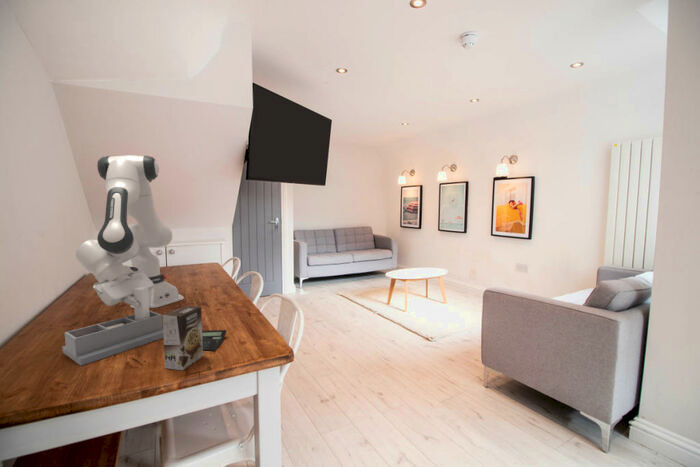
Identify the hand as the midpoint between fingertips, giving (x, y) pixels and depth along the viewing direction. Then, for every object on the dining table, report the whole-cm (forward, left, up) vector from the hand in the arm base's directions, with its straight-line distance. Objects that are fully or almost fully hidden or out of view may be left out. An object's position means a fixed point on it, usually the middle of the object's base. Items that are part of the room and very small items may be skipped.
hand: (143, 304), depth 113 cm
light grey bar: (0, 0, -7) cm, 7 cm away
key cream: (+8, -1, -8) cm, 11 cm away
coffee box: (+3, +31, -12) cm, 34 cm away
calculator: (-8, +25, -12) cm, 29 cm away
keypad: (+8, -1, -12) cm, 14 cm away
